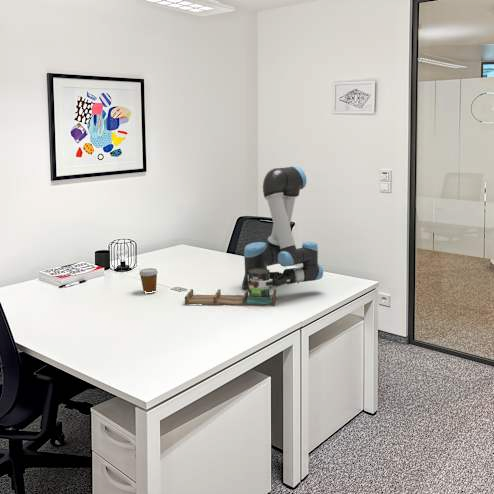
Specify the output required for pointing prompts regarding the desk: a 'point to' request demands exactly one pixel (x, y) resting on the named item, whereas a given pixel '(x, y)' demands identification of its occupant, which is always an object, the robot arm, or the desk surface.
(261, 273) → the coffee can
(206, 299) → the slot rack
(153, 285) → the disposable coffee cup
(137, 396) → the desk surface
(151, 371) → the desk surface
